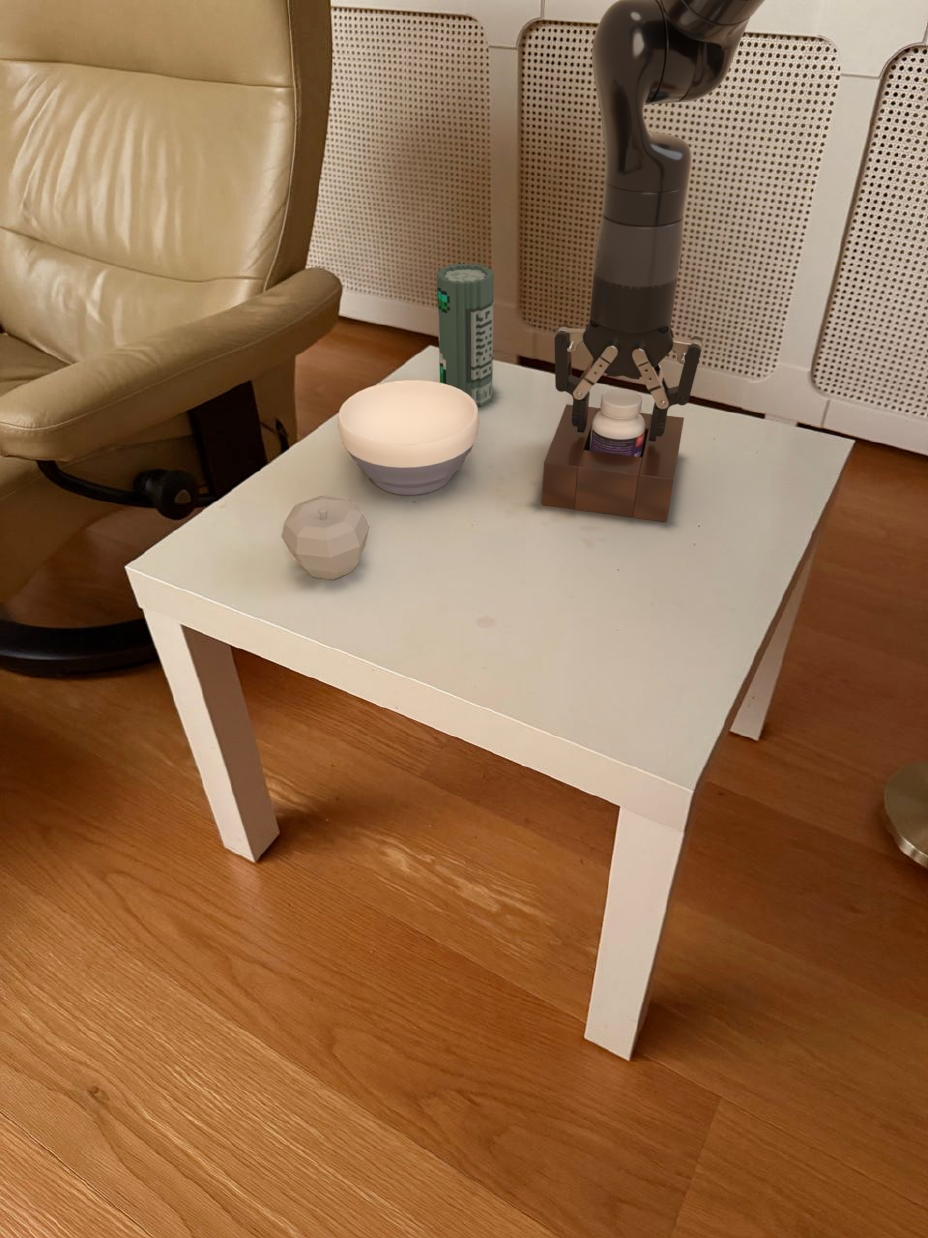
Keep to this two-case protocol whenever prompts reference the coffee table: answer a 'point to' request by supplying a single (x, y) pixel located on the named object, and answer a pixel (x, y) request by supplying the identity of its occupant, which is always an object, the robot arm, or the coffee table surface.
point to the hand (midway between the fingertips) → (617, 432)
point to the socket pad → (611, 472)
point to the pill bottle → (618, 424)
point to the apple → (326, 536)
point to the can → (466, 329)
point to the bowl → (409, 433)
